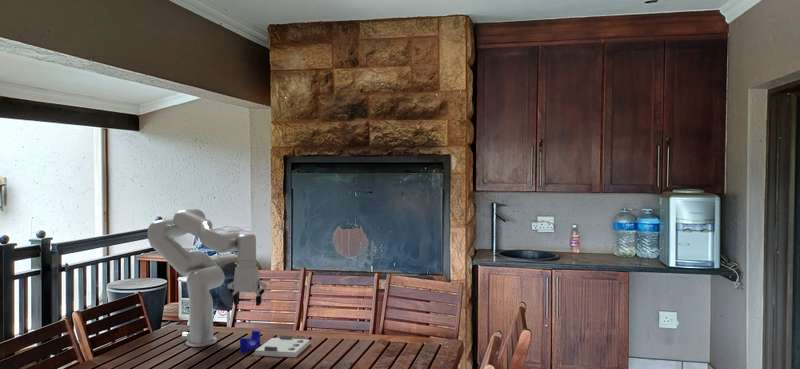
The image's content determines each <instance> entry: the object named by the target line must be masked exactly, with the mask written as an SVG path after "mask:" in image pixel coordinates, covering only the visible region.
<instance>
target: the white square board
mask: <svg viewBox="0 0 800 369" xmlns="http://www.w3.org/2000/svg"><path fill="white" fill-rule="evenodd" d="M310 340H311V339H309V338H308V339H305V338H304V339H303V338H293V336H292V334H280V335H279V337H271V338H270V339H269V340H267V341H266V342H264V343H263V344H262V345H259V346H258V347H257V348H256V349H255V350H254V356H259V357H260V356H262V357H263V356H264V357H280V358H281V357H282V358H283V357H284V358H297V357H298V355H300V354H301V353H302V352H304V350H305V349H306V348H308V347H309V346H310V344H311V341H310Z"/></svg>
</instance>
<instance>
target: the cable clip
mask: <svg viewBox="0 0 800 369" xmlns="http://www.w3.org/2000/svg"><path fill="white" fill-rule="evenodd" d="M259 346H261V330H252V331H251V336H250V337H240V338H239V353H241V354H248V353H249V352H251V351H252V349H253V350H254V349H255V348H258V347H259Z"/></svg>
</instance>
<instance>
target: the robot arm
mask: <svg viewBox="0 0 800 369" xmlns="http://www.w3.org/2000/svg"><path fill="white" fill-rule="evenodd" d="M187 234H189V235H190V234H191V235H193V236H194V237H196V238H198V239H199V241H200V242H201V244H202V245H203V246H204V247H206V248H207V249H210V250H211V251H213V252H217V253H221V254H224V253H229V252H235V251H237V254H236V255H237V257H236V258H237V259H236V260H234V264H235V265H237V266H235V268H234V275H233V281H231V282H229V283H228V284H226V286H227V289H228V291H229V293H230V294H231V295H232V297H233V298H232V299H233V300H232V301H233V306H237V305H239V304H240V294H239V292H240V293H255V295H256V296H255V306H256V307H258V306H260V305H261V304H262V295H263V294H264V293H265V292H266V290H267V288H268V284H266V283H265V282H262V281H261V277H260V271H259V270H260V269H259V267H258V266H257V238H256V235H255V234H253V233H239V232H230V233H228V232H227V233H224V234H221V233H219V232H216V231H214V230H213V222H212V221H211V220H210V219H207V218H206V215H205V213H204V212H203V211H202V210H200V209H199V208H189V209H182V210H179V211H177V212H176V213H174V215H173V217H172V218H168V219H167V218H166V219H158V220H155V221H153V222H151V223H150V225H149V226H148V229H147V238H148V243H149V245H150V246H151V247H152V248H153V249H154V250H155V251H156V253H158V254H159V255H161V256H162V257H163V259H164V260H165V261H166V262H167V263H168V264H169V265H170V266H171V267H172V268H173V269H174V270H175V271H176V272H177V273H178V274H180V275H182V276H185V275H186V276H187V278H186V288H187V294H188V306H189V307H188V308H189V310H188V312H189V314H188V316H189V318H188V319H189V332H187V331H186V332H185V331H183V332H182V333H181V338H182V339H186V341H185V345H186V346H188V347H192V348H201V347H208V346H210V345H213V344H214V345H215V344H216V343H217V341H218V338H217V336H214V306H213V305H214V303H213V302H214V301H213V297H212V294H211V292H210V290H212V289H216V288H219V287H221V285H222V284H224V282H225V277H226V276H225V273H224V270H223V269H222V268H221V266H219V265H218V264H217V263H216V262H215V261H214V260H213V259H212V257H210V256H209V255H208V254H207V253H206V252H203V251H201V250H193V251H187V250H186V249H185V248H184V247H183V246H182V245H181V244H180V243H179V242H177V241H175V240H173V239H171V238H178V237H183V236H184V235H185V236H186V235H187ZM261 287H262V288H261Z"/></svg>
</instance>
